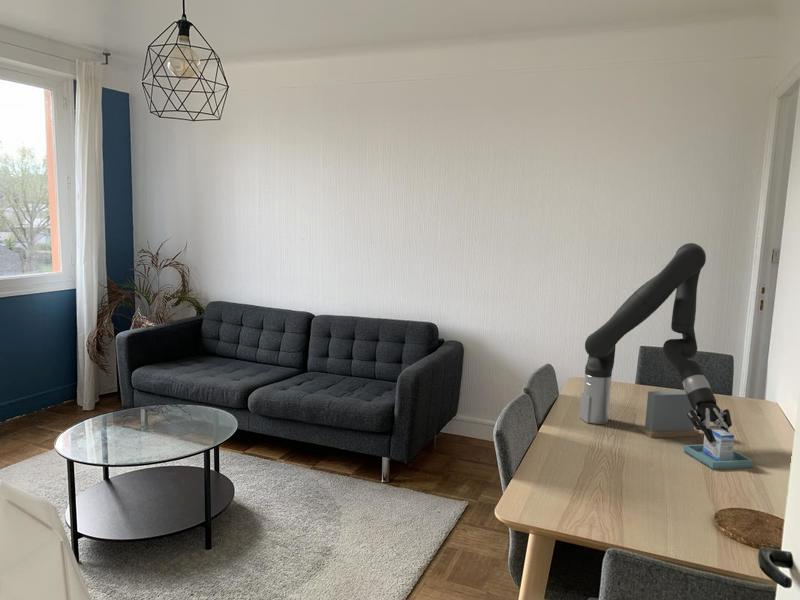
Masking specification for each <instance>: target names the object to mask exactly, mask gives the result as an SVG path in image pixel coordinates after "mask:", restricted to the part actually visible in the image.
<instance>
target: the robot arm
mask: <svg viewBox="0 0 800 600" xmlns="http://www.w3.org/2000/svg"><path fill="white" fill-rule="evenodd" d="M706 261H707V255H706V252H705V250H704V249H703V247H701V245H699V244H696V243H692V242H690V243H685V244H683V245H681V246H680V247H679V248H677V250H676V252H675V255H674V256H673V257H672V259H671V260H669V262H668V263H667V264H666V265H665V267H663V269H662V270H661V271H660V272H659V273H658V274H656V275H655V276H654V277H652V278H650V279H649V280H648V281H646V282H645V283H644V284H642V285H641V286H640V287H638V288H637V289H636V290H635V291H634V292H633V293H632V294H631V295H630V296H629V297H628V298H627V299H626V300H625V301H624V302H623V303H622V305H620V307H619V308H617V310H616V311H615V312H614V314H612V316H611V317H610V318H609V320H607V321H606V322H605V323H604V324H603V325H601V326H600V327H598V329H596V330H595V331H594V332H593V333H591V334H589V335H588V336H587V337H586V339H585V342H584V350H585V352H586V353H587V355H588V357H587V362H586V364H585V368H584V379H583V380H584V382H583V392H581V393H580V394H581V395H580V407H579V418H580V419H581V420H582V421H584V422H585V423H586V424H594V425H595V424H597V425H603V424H607V423H608V422H609V412H610V399H611V387H612V374H613V370H614V365H615V357H616V344H618V342H619V341H621V339H622V338H623V337H624V336H625V335H626V334H628V333H629V332H631V331H632V330H634V329H635V328H637V327H638V326H639V325H641V324H642V323H643V322H644V321H646V320H647V319H648V318H649V317H651V316H652V314H654V313H655V312H656V311H657V310H658V309H659V308H660V306H662V305H663V303H665V302H666V301H667V300H668V298H669V297H670V296H671V295H672V294H673V293H674V292H675V297H674V302H673V307H672V313H671V315H672V316H671V323H670V324H671V325H670V327H671V328H670V329H671V330H672V331H673V332H675V333H676V334H681V335H682V338H671V339H668V340H666V341H664V343H663V346H662V351H663V354H664V356H665V358H666V359H667V361H668V362H669V364H670V365H671V366H672V367H673V368H674V370H676V372H677V373H678V376H679V379H680V380H681V383H682V386H683V391H685V392H686V395H687V397H688V399H689V402H690V404H691V406H692V408H693V409H694V410H691V411H689V412H688V413H687V416H688V418H689V419H690V420H691V422H692V423H693V425H694V429H695V430H697V431H702V432H703V433H704V434H705V436H706V438H707V440H708V441H709V442H710V443H712V442H714V441H715V438H714V435H713V433H712V431H711V429H709V428H710V426H711V425H710V423H713V424H714V425H713V426H718V427H720V428H721V429H723V430H725V431H727V432H729V433H730V431H729V430H728V429H729V428H731V427H732V426H733V423H732V419H731V414H730V410H729V409H728V408H725V409H721V408H720V407H719V406H718V405H717V399H716V397H715V395H714V392H713V390H712V388H711V386H710V383H709V381H708V379H707V378H706V376H705V374H704V372H703V371H702V368H701V366H700V363H698V362H697V361H695V360H692V359H694V357H695V356H696V355H697V352H698V343H697V339H696V338H697V337H696V332H695V323H696V322H695V321H696V312H697V294H698V293H697V291H698V284H699V278H700V274H701V270H702V268H704V266H705V265H706ZM675 290H676V291H675ZM690 359H691V360H690Z"/></svg>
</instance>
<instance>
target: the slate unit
mask: <svg viewBox="0 0 800 600" xmlns="http://www.w3.org/2000/svg"><path fill="white" fill-rule="evenodd" d="M646 401H647V403H646V413H645V422H644V425H639V431H640V432H641V433H644V434H645V435H647V436H648V437H649V438H672V437H673V438H675V437H677V438H678V437H698V436H700V430H697V429H696V428H695V426H694V425H693V423H692V422H691V420H690V419H689V418H688V416H687V413H688V412H689V411H691V410H694V409H693V408H692V406H691V404H690V402H689V399H688V397H687V395H686V392H685V390H663V391H662V390H659V391H651V390H650V391H648V392H647V399H646Z"/></svg>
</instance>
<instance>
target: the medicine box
mask: <svg viewBox="0 0 800 600" xmlns="http://www.w3.org/2000/svg"><path fill="white" fill-rule="evenodd" d="M709 426H710V428H709V429H711V431H712V433H713V435H714V438H715V441H714V442H712V443H710V442H709V441H708V440H707V438H706V436H705V434H704V438H703V452H704V453H705V454H707V455H708V456H710V457H712V458H713V459H715V460H717V461H732V454H733V450H734V443H735V435H734V434H733V433H730V431H729V432H727V431H725V430H723V429H721V428H720V427H718V426H716V425H709Z"/></svg>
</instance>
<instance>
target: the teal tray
mask: <svg viewBox="0 0 800 600" xmlns="http://www.w3.org/2000/svg"><path fill="white" fill-rule="evenodd" d="M703 444H704V443H703ZM703 444H685V445H683V450H682V452H683V453H685V454H686V455H688V456H689V457H691V458H693V459H694V460H696V461H697V462H699V463H701V464H703V465H704V466H705V467H706V468H708V469H710V470H712V471H713V470H731V469H733V470H734V469H752V468H753V466H754V460H753V459H751V458H750V457H748V456H746V455H744V454H742V453H740V452H738V451H737V450H734V449H733V454H732V461H717V460H715V459H713V458H712V457H710V456H708V455H707V454H705V453H704V452H703Z"/></svg>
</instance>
